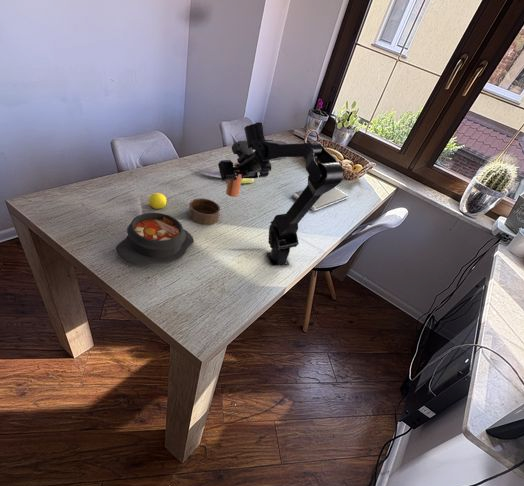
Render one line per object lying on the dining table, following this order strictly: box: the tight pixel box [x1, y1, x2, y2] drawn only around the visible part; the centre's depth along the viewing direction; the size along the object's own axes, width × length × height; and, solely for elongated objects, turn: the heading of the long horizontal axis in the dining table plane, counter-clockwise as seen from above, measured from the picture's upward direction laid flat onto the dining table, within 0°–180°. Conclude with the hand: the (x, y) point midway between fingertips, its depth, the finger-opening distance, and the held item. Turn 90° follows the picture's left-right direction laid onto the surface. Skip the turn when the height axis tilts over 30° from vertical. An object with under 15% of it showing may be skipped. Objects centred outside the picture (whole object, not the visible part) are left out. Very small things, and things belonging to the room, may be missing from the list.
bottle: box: [225, 162, 242, 198], centre depth 133 cm, size 5×5×12 cm
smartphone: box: [291, 186, 349, 212], centre depth 164 cm, size 13×27×2 cm, turn 135°
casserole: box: [115, 212, 195, 267], centre depth 111 cm, size 25×19×8 cm
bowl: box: [187, 197, 221, 226], centre depth 130 cm, size 11×11×4 cm
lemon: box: [148, 192, 167, 210], centre depth 128 cm, size 7×5×5 cm
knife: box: [196, 167, 255, 184], centre depth 156 cm, size 8×3×25 cm
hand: (233, 176), depth 134 cm, fingers closed on bottle, 5 cm apart
